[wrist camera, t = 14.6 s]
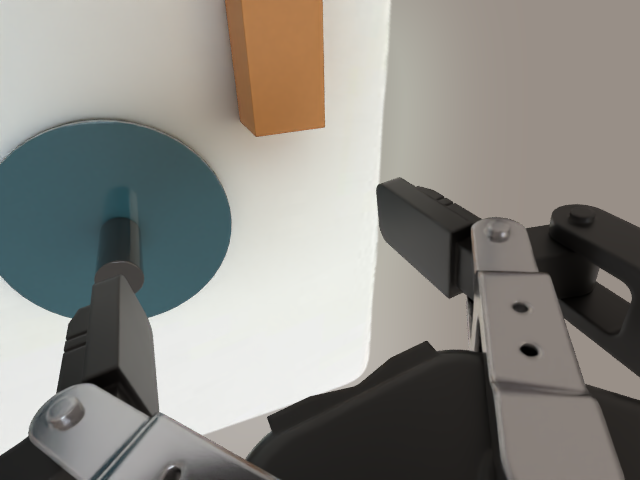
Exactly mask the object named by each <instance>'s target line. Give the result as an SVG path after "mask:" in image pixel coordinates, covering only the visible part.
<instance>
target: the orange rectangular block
mask: <svg viewBox="0 0 640 480" xmlns="http://www.w3.org/2000/svg"><path fill="white" fill-rule="evenodd" d="M225 5H226V13H227V21H228V29H229V37H230V45H231V53H232V61H233V69H234V77H235V84H236V92H237V100H238V108H239V116H240V122H241V123H242V124H243V125H244V126H245V127H247V128H248V129H249V130H250V131H251V132H252V133H253V134H254V135H255V136H256V137H259V136H266V135H273V134H280V133H287V132H295V131H302V130H309V129H316V128H323V127H325V106H324V54H323V2H322V0H225Z"/></svg>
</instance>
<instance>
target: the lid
mask: <svg viewBox="0 0 640 480" xmlns="http://www.w3.org/2000/svg"><path fill="white" fill-rule="evenodd" d="M230 236H231V213H230V207H229V203H228V200H227V196H226V194H225V192H224V189H223V187H222V185H221V183H220V181H219V180H218V178H217V177H216V175H215V173H214V172H213V171H212V169H211V168H210V167H209V166H208V164H207V163H206V162H205V161H204V160H203V159H202V158H201V157H200V156H199V155H198V154H197V153H196V152H195V151H193V150H192V149H191V148H189V147H188V146H186V145H185V144H184V143H182V142H181V141H179V140H177V139H175V138H174V137H172V136H170V135H168V134H166V133H164V132H161V131H159V130H156V129H154V128H151V127H147V126H144V125H140V124H137V123H131V122H125V121H119V120H88V121H79V122H74V123H69V124H64V125H61V126H58V127H55V128H52V129H49V130H46V131H44V132H42V133H40V134H38V135H36V136H34V137H32V138H30V139H28V140H27V141H26V142H24V143H23V144H21V145H20V146H19V147H17V148H16V149H15V150H14V151H12V152H11V153H10V154H9V155H8V156H7V157H6V158H5V159H4V160H3V161H2V163H1V164H0V276H1V277H2V278H3V279H4V280H5V281H6V282H7V283H8V284H9V285H10V286H11V287H12V288H13V289H14V290H16V291H17V292H18V293H19V294H20V295H22V296H23V297H25V298H26V299H28V300H29V301H31V302H32V303H34V304H36V305H38V306H40V307H42V308H44V309H46V310H48V311H50V312H53V313H56V314H59V315H62V316H65V317H69V318H73V317H74V315H75V314H76V312H77V311H78V309H80V308H82V307H85V306H88V305H90V302H91V294H92V286H93V285H94V284H96V283H99V282H102V281H104V280H107V279H110V278H113V277H116V276H119V275H123V276H124V277H125V278H126V280H127V282H128V283H129V285H130V287H131V289H132V290H133V292H134V294H135V296H136V298H137V299H138V301H139V303H140V305H141V306H142V308H143V310H144V312H145V314H146V316H147V318H149V317H152V316H155V315H158V314H161V313H164V312H166V311H168V310H171V309H173V308H175V307H177V306H179V305H180V304H182V303H184V302H185V301H187V300H188V299H190V298H191V297H193V296H194V295H195V294H197V293H198V292H199V291H200V290H201V289H202V288H203V287H204V286H205V285H206V284H207V283H208V282H209V281H210V280H211V278H212V277H213V276H214V275H215V273H216V272H217V270H218V269H219V267H220V266H221V263H222V261H223V259H224V257H225V255H226V252H227V249H228V246H229V242H230Z"/></svg>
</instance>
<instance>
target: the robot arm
mask: <svg viewBox="0 0 640 480" xmlns="http://www.w3.org/2000/svg"><path fill="white" fill-rule="evenodd" d="M376 195H377V206H378V217H379V227H380V231H381V233H382V236H383V238H384V239H385V241H386V242H387V243H388V244H389V245H390V246H391V247H392V248H394V249H395V250H396V251H397V252H398V253H399V254H400V255H401V256H402V257H404V258H405V259H406V260H407V261H408V262H409V263H410V264H411V265H412V266H413V267H414V268H416V269H417V270H418V271H419V272H420V273H421V274H422V275H423V276H424V277H425V278H427V279H428V280H429V281H430V282H431V283H432V284H433V285H434V286H436V287H437V288H438V289H439V290H440V291H441V292H442V293H443V294H444V295H445V296H446V297H448V298H452V297H454V296H456V295H458V294H461V293H464V294H466V295H467V301H466V309H467V325H468V340H469V350H443V351H436V350H435V349H434V348H433V347H432V346H431V345H430V344H429V342H428V341H425V342H423V343H421V344H419V345H417V346H414V347H412V348H410V349H408V350H406V351H404V352H402V353H400V354H398V355H396V356H393V357H392V358H390V359H389V360H387V361H386V362H385V363H384V364H383V365H381V366H380V367H379V368H378V369H377V370H375V371H374V372H373V373H372V374H371V375H369V376H368V377H367V378H366V379H365V380H363V381H362V382H361V383H360V384H358V385H356V386H354V387H350V388H346V389H341V390H337V391H332V392H328V393H324V394H319V395H314V396H310V397H308V398H306V399H303V400H301V401H299V402H297V403H295V404H293V405H291V406H289V407H287V408H285V409H283V410H280V411H278V412H276V413H274V414H272V415H270V416H268V417H267V418H268V422H269V424H270V427H271V430H272V431H271V432H270V433H268V434H267V435H266V436H265V437H264V438H263V439H262V440H261V441H260V442H259V443H258V444H257V445H256V446H255V447H254V448H253V449H252V451H251V452H250V453H249V454H248V456H247V457H246V459H243V458H241V457H239V456H238V455H236V454H234V453H232V452H231V451H229V450H227V449H225V448H223V447H222V446H220V445H218V444H216V443H214V442H213V441H211V440H209V439H207V438H206V437H204V436H202V435H200V434H199V433H197V432H195V431H193V430H192V429H190V428H188V427H186V426H184V425H183V424H181V423H179V422H177V421H176V420H174V419H172V418H170V417H168V416H167V415H165V414H162V413H160V412H159V404H158V392H157V380H156V368H155V357H154V345H153V334H152V329H151V326H150V323H149V320H148V318H147V316H146V314H145V312H144V310H143V308H142V306H141V305H140V303H139V301H138V299H137V298H136V296H135V294H134V292H133V290H132V289H131V287H130V285H129V283H128V282H127V280H126V278H125V277H124V276H123V275H119V276H116V277H113V278H110V279H107V280H104V281H102V282H99V283H96V284H94V285H93V286H92V294H91V302H90V305H88V306H85V307H82V308H80V309H78V311H77V312H76V314H75V315H74V317H73V318H72V320H71V321H70V323H69V324H68V330H67V335H66V340H67V341H65V347H64V352H65V353H64V354H63V358H62V364H61V370H60V375H59V381H58V387H57V392H56V395H54V396H53V397H52V398H51V399H49V400H48V401H47V402H46V403H45V404H44V405H43V406H42V407H41V408H40V409H39V410H38V412H37V413H36V415H35V416H34V418H33V420H32V421H31V424H30V427H29V432H28V434H29V436H28V437H27V438H26V439H24V440H23V441H21V442H20V443H19V444H17V445H16V446H14V447H13V448H11V449H10V450H8V451H7V452H5V453H4V454H2V455H1V456H0V480H640V400H637V399H633V398H630V397H627V396H623V395H620V394H617V393H614V392H610V391H607V390H603V389H600V388H597V387H593V386H590V385H587V384H585V383H584V380H583V376H582V373H581V370H580V367H579V364H578V361H577V358H576V355H575V351H574V348H573V345H572V342H571V339H570V336H569V333H568V330H567V327H566V323H565V320H564V318H565V319H566V320H567V321H569V322H570V323H571V324H572V325H573V326H575V327H576V328H577V329H579V330H580V331H581V332H582V333H584V334H585V335H586V336H588V337H589V338H590V339H591V340H593V341H594V342H595V343H597V344H598V345H599V346H600V347H602V348H603V349H604V350H605V351H607V352H608V353H609V354H611V355H612V356H613V357H614V358H616V359H617V360H618V361H620V362H621V363H622V364H624V365H625V366H626V367H627V368H628V369H630V370H631V371H633V372H634V373H635V374H636V375H637V376H639V377H640V228H639V227H637V226H635V225H633V224H631V223H629V222H627V221H625V220H622V219H620V218H618V217H616V216H614V215H612V214H610V213H608V212H606V211H603V210H601V209H599V208H596V207H592V206H588V205H578V204H575V205H565V206H561V207H559V208H557V209H555V210H554V211H553V213H552V216H551V222H550V225H544V226H538V227H531V228H525V227H524V226H523V225H522V224H520V223H518V222H516V221H514V220H511V219H507V218H500V217H492V218H486V219H481V218H479V217H477V216H476V215H474V214H472V213H471V212H469V211H467V210H466V209H464V208H462V207H461V206H459V205H457V204H456V203H454V204H453V202H452V201H451V200H449V199H447V198H444V196H442V195H441V194H439V193H437V192H436V191H434V190H431V189H427V188H424V187H419V186H417V187H415V186H414V185H412V184H410V183H409V182H407V181H406V180H404V179H402V178H400V177H399V178H396V179H393V180H390V181H387V182H384V183H381V184H379V185H378V186H377V189H376ZM599 268H601V269H603V270H605V271H606V272H608V273H609V274H611V275H613V276H614V277H616V278H618V279H620V280H621V281H622V282H624V283H625V284H626V285H627V286H628V288H629V289H630V291H631V294H632V301H631V304H630V303H629V302H627V301H626V300H624V299H623V298H621V297H619V296H618V295H616V294H615V293H613V292H612V291H610V290H609V289H607V288H605V287H604V286H602V285H601V284H599V283H598V282H596V278H597V275H598V271H599Z"/></svg>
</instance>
